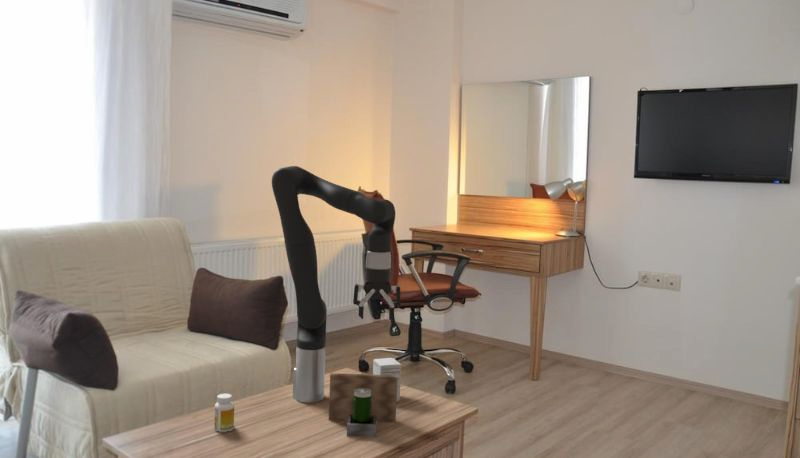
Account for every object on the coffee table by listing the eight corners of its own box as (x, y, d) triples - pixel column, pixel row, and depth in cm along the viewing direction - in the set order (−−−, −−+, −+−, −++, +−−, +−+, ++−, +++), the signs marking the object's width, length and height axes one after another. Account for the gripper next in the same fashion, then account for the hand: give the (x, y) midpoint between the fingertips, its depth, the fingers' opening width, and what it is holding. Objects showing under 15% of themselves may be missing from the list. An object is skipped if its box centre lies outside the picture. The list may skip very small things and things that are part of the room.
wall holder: (325, 435, 194) (327, 387, 193) (329, 418, 207) (330, 373, 205) (396, 437, 195) (398, 390, 193) (395, 420, 208) (397, 375, 206)
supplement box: (371, 395, 228) (372, 358, 226) (392, 393, 230) (393, 357, 229) (378, 403, 221) (380, 365, 219) (400, 401, 224) (401, 363, 222)
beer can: (357, 436, 195) (359, 395, 194) (348, 429, 199) (350, 389, 198) (373, 432, 198) (375, 392, 197) (364, 425, 202) (366, 386, 201)
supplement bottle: (237, 426, 198) (238, 394, 197) (226, 433, 193) (227, 400, 192) (221, 423, 200) (221, 391, 199) (210, 430, 195) (210, 397, 193)
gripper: (354, 267, 202) (352, 321, 204) (402, 269, 203) (400, 322, 204) (354, 263, 210) (353, 315, 211) (401, 264, 210) (399, 316, 212)
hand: (376, 318), depth 208 cm, fingers open, 8 cm apart
